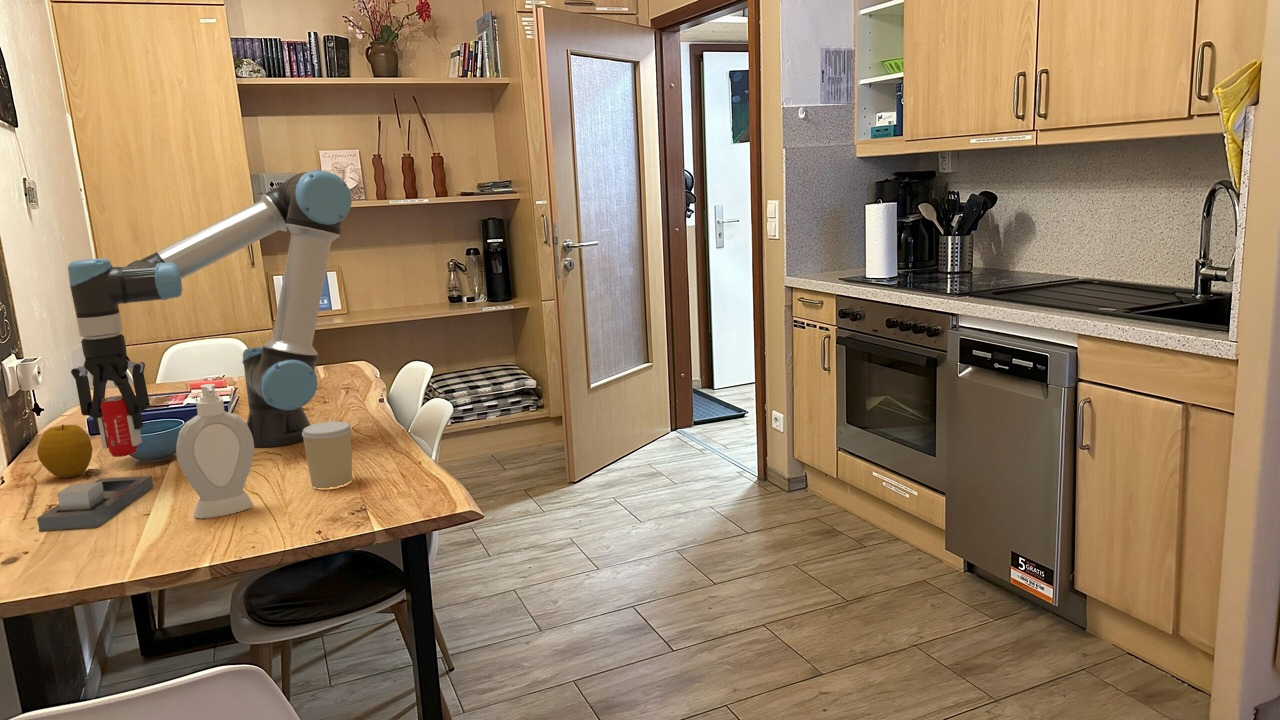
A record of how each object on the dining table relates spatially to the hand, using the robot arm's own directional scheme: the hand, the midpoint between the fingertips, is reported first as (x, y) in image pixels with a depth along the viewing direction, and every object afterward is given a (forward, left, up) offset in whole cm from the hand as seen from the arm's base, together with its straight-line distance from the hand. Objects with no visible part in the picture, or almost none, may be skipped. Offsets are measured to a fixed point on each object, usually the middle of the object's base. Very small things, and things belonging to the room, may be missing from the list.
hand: (122, 445), depth 181 cm
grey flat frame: (-2, +16, -8) cm, 18 cm away
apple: (+15, -6, -8) cm, 18 cm away
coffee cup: (-44, +10, -8) cm, 46 cm away
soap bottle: (-28, +24, -8) cm, 38 cm away
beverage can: (0, 0, -2) cm, 2 cm away
